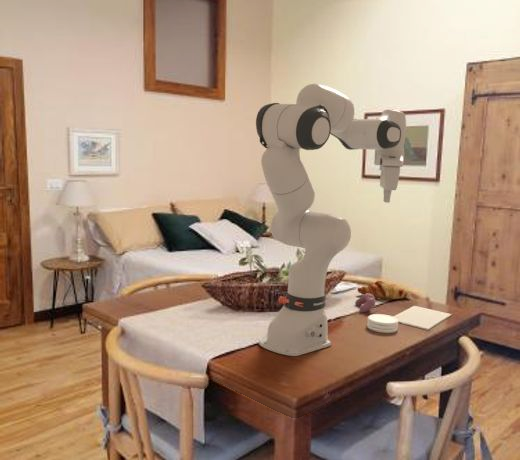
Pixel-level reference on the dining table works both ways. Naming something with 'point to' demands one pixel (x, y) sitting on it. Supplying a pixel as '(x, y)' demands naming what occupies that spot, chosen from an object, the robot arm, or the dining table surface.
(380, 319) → the coaster
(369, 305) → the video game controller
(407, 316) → the cream rectangular panel
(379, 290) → the croissant
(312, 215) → the robot arm
